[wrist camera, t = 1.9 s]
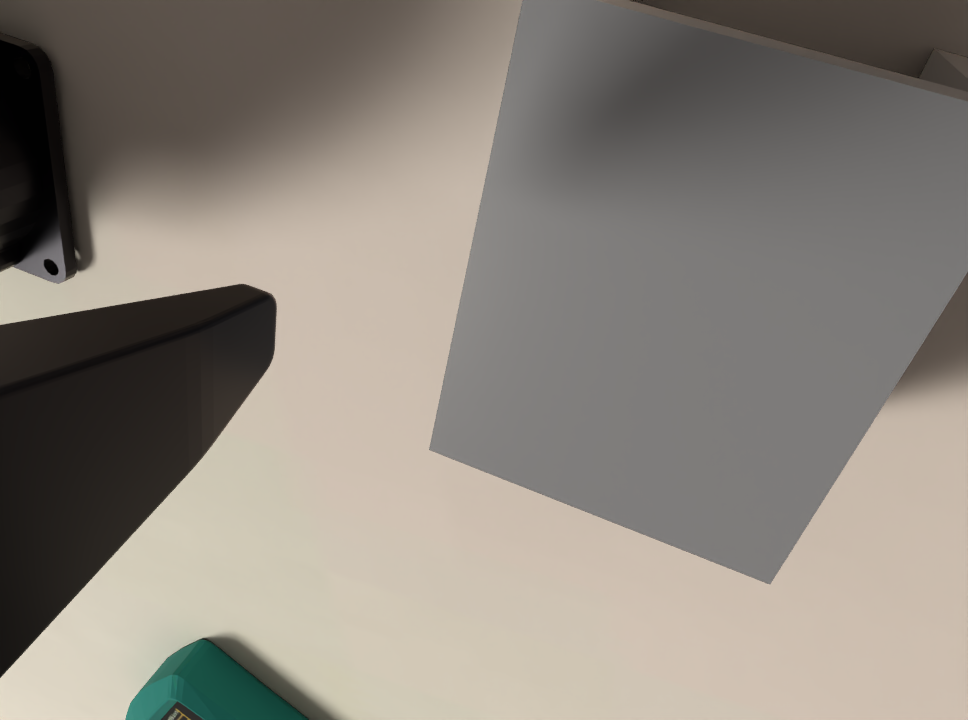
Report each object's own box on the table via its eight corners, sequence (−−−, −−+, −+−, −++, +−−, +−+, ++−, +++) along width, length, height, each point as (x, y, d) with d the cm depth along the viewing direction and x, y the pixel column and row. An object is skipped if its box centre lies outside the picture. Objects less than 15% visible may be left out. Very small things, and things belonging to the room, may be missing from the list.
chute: (773, 423, 17) (770, 584, 13) (509, 329, 18) (429, 449, 14) (970, 58, 13) (1059, 127, 8) (604, -39, 14) (527, -18, 10)
